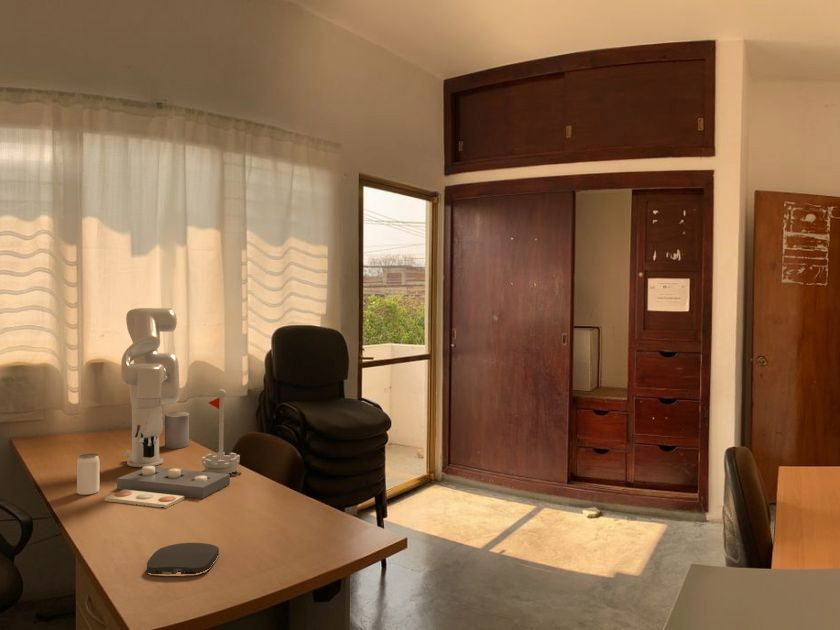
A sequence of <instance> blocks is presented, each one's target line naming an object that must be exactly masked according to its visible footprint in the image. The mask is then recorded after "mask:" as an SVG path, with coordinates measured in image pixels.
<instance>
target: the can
mask: <svg viewBox="0 0 840 630" xmlns="http://www.w3.org/2000/svg"><path fill="white" fill-rule="evenodd" d="M99 491H100V457H99V454H98V453H91V452H90V453H83V454H80V455H78V458H77V461H76V494H78V495H79V496H91V495H95V494H97V493H98V492H99Z"/></svg>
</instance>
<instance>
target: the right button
mask: <svg viewBox="0 0 840 630" xmlns="http://www.w3.org/2000/svg"><path fill="white" fill-rule="evenodd" d="M206 480H207V476H196V477H195V478H194V481H201V482H204V481H206Z"/></svg>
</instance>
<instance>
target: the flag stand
mask: <svg viewBox="0 0 840 630" xmlns="http://www.w3.org/2000/svg"><path fill="white" fill-rule="evenodd" d="M226 395H227V392H226V390H225V389H222V388H221V389H219V390H218V391H217V396H218V397H217V398H215V399H213V400H210V401H208V404H209V405H211V406H213V408H216V409H218V411H219V414H218V415H219V417H218V418H219V419H218V420H219V421H218V423H219V425H218V452H217V455H213V453H208V454H205V456H202V458H201V459H202V460H201V461H202V462H201V464H202V466H203V467H204V469H205V470H204V472H212V473H222V474H228V473H231V474H233V473H232V472H234V473H236V472H237V465H239V464H240V459H241V458H240V456H241V455H240V454H237V453H235V452H229V454H228V455H227V454H226V455H225V451H224V422H225V421H224V420H225V419H224V416H225V415H224V413H225V411H224V410H225V405H224V404H225V399H224V398H225V397H226ZM235 471H236V472H235Z"/></svg>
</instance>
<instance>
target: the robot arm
mask: <svg viewBox="0 0 840 630" xmlns="http://www.w3.org/2000/svg"><path fill="white" fill-rule="evenodd" d="M125 318H126V319H125V321H126V322H125V323H126V328H127V332H128V334H129V337H130V339H131V342H132V344H131V345H130V346H128V347H127V348H126V350H125V351H124V352H123V355H122V358H121V369H120V370H121V372H120V375H121V381H122V383H123V384H124V385H125V386H128V387H129V397H130V404H131V450H126V451H125V452H124V454H123V457H125V458H129V459H128V460H127V462H126V463H127V464H126V465H127V466H129V467H132V468H143V467H145V466H155V467H157V466H159V465H161V464H163V463H164V458H163V457H161V456H160V437H161V434H162V433H163V432H164V431H163V430H164V429H163V428H164V419H163V418H164V416H163V409H162V405H174V404H176V403H178V401H179V400H180V391H181V390H180V375H179V374H180V372H179V371H180V370H179V361H178V357H177V356H176V355H175V354H174V353H169V352H168V353H167V352H165V353H162V352H159V353H158V348H160V346H161V333H163V332H166V333H167V332H169V333H170V332H174V331H175V330H176V328H177V325H178V324H177V323H178V322H177V313H176V312H175V310H174V309H172V308H162V307H160V308H159V307H157V308H156V307H155V308H154V307H153V308H151V307H137V308H131V309H130V310H128V311H127V313H126V317H125ZM160 332H161V333H160ZM132 362H133V363H132Z"/></svg>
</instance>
